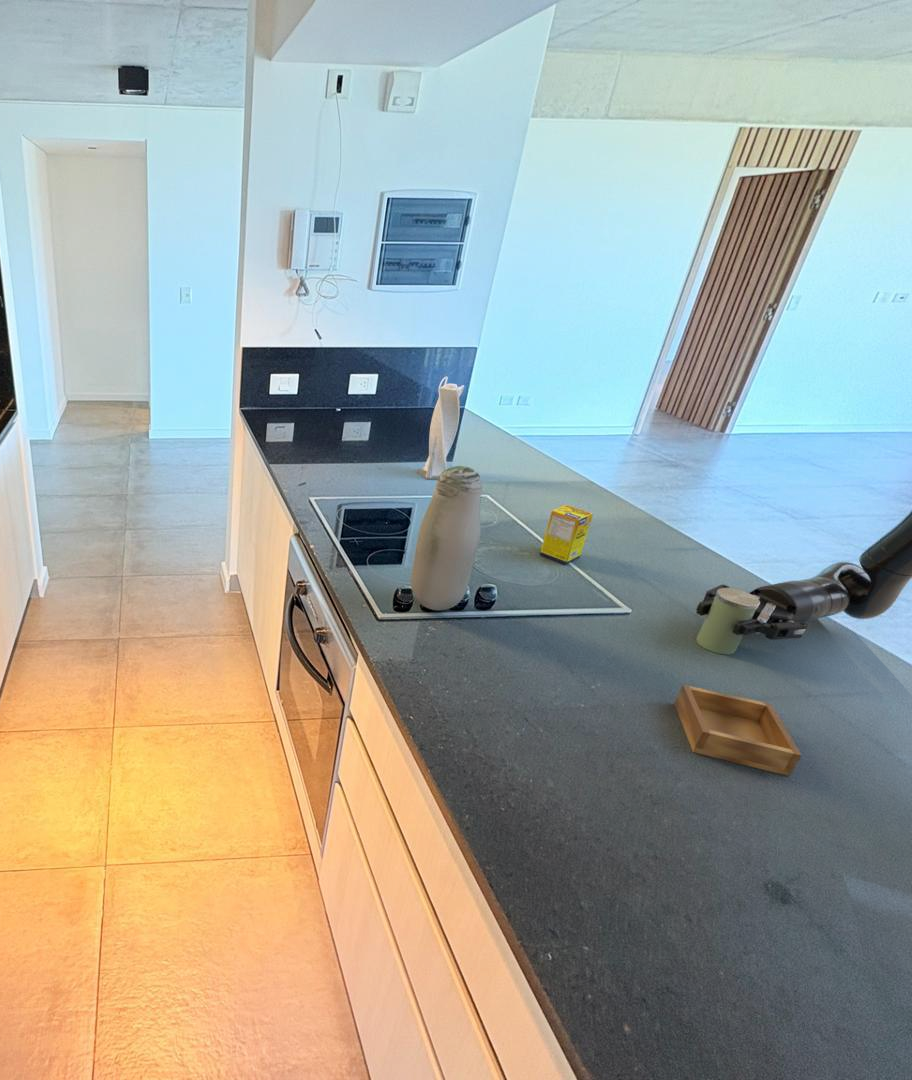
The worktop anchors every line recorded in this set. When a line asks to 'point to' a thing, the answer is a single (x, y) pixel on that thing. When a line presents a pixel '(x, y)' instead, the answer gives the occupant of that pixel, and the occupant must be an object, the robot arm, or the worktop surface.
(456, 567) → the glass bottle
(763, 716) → the holder
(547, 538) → the supplement box
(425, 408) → the worktop surface
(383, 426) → the worktop surface
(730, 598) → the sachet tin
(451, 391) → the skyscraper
